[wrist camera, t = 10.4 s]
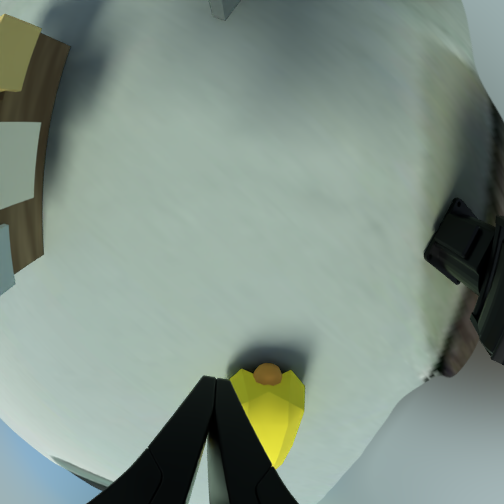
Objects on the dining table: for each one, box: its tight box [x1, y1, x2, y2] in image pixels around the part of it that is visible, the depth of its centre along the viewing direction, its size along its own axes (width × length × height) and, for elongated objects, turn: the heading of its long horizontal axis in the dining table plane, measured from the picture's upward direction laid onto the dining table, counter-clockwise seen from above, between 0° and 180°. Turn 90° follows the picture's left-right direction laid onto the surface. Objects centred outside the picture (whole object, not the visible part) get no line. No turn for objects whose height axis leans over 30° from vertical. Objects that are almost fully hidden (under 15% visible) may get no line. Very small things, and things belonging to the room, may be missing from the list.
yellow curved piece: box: [229, 363, 305, 470], centre depth 24 cm, size 18×7×8 cm
